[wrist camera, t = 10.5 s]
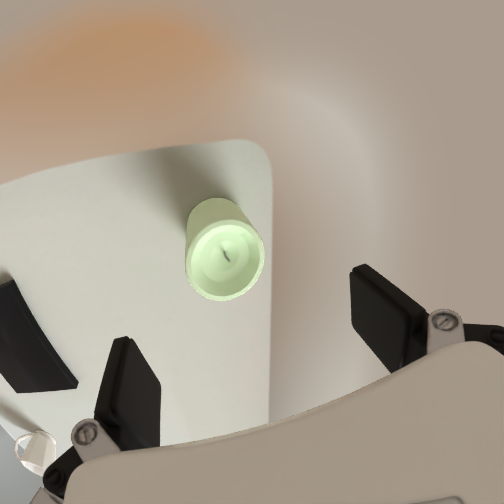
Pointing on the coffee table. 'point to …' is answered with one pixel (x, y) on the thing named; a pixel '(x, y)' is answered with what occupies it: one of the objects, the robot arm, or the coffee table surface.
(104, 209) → the coffee table surface
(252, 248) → the candle
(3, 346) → the scale
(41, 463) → the cup
